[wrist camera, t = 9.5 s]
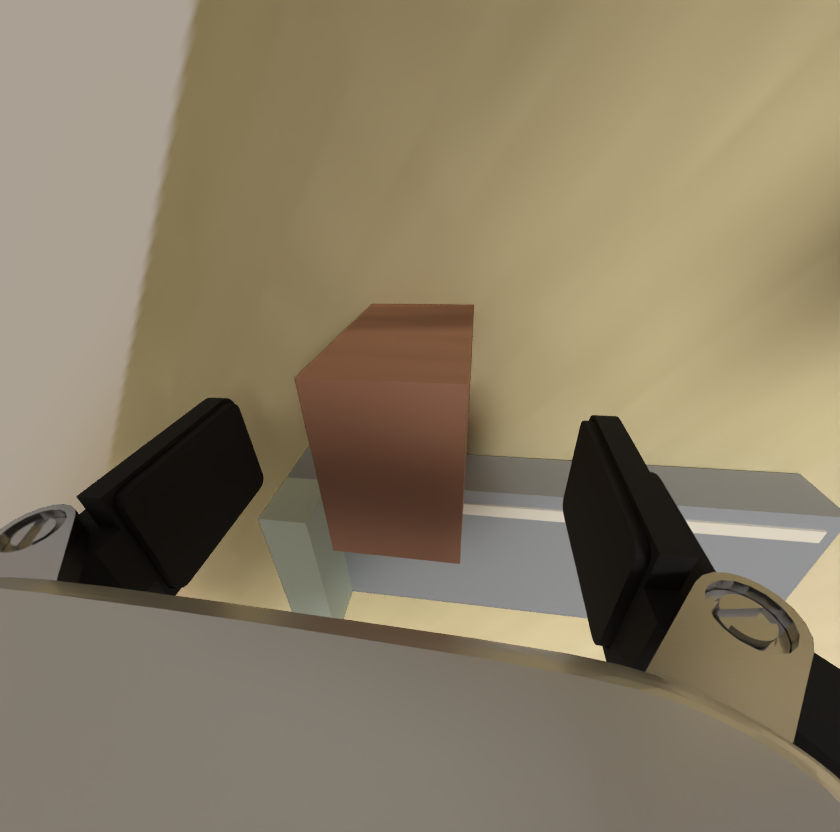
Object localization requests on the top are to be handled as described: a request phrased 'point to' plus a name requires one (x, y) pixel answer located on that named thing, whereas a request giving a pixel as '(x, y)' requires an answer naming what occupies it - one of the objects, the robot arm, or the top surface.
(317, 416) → the brown block
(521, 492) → the grey board
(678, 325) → the top surface
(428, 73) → the top surface
